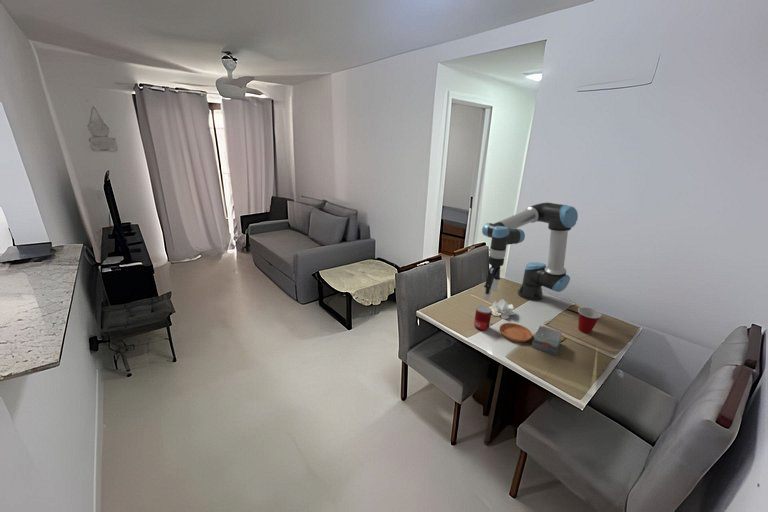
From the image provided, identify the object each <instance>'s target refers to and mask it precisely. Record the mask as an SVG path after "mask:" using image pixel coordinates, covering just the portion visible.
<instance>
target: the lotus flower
mask: <svg viewBox="0 0 768 512" xmlns="http://www.w3.org/2000/svg"><path fill="white" fill-rule="evenodd" d="M492 306H493V307H489V308H490V309H491V310H492V312H491V315H492V316H495V317H498V318H499V317H501V319H503V320H508V319H509V317H510V316H513V315H515V314H516V313H515V309H514V305H513V304H512V303H511V304H509V303H508V302H507V301H506V300H505V299H502V298H501V299H500V300H498V301H497V300H494V301H493V302H492ZM494 309H495V310H496V312H498V313H501V315H498V314H496V313H495V312H494Z"/></svg>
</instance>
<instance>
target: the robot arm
mask: <svg viewBox="0 0 768 512" xmlns="http://www.w3.org/2000/svg"><path fill="white" fill-rule="evenodd" d="M578 217H579V213H578V210H577V209H576V208H575V207H574V206H572V205H571V206H570V205H568V204H560V203H553V202H540V203H536V204H533V205H531V206H529V207H527V208H525V209H524V210H523V211H521V212H518V213H516V214H513V215H512V216H509V217H507V218H504V219H502V220H499V221H497V222H494V223H491V222H485V224H484V225H483V226H482V229H481V233H482V235H483V236H486V237H487V238H491V242H490V246H489V247H490V248H489V249H488V251H489V256H488V260H487V264H489V265H490V266H491V267H490V268H489V269H488V274H487V277H486V280H485V284H484V286H483V287H484V289H485V290H484V295H483V297H484V298H483V299H484V300H488V301H490V300H491V299H490V298H491V293H492V291H493V292H497V289H498V284H499V281H500V280H501V278H500V276H501V267H503V266H504V265H505V264H504V263H505V258H506V252H507V247H508V245H514V244H515V245H517V244H520V243H522V242H524V240H525V237H526V235H525V231H524V230H523V229H521V228H520V227H523V226H525V225H528V224H530V223H531V224H534V223H536V222H540V223H541V222H542V223H546V224H548V226H547V228H548V230H550V237H549V246H548V247H549V248H548V259H547V264H545V263H543V262H534V261H533V262H528V263H526V265H525V268H524V272H523V277H522V278H523V279H522V283H521V285H520V286H519V288H518V291H517V295H518V296H519V297H521V298H522V299H525V300H528V301H541V300H542V299H543V295H544V294H543V289H542V287H544V288H547V289H549V290H551V291H554V292H557V293H561V292H563V291H564V290H566V288H567V287H568V285H569V283H570V281H571V277H570V276H569V275H568V274H567V268H566V267H565V261H566V252H567V243H568V234H569V233H568V232H569V231H571V230H572V228H574V227H575V226H576V224H577V221H578Z"/></svg>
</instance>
